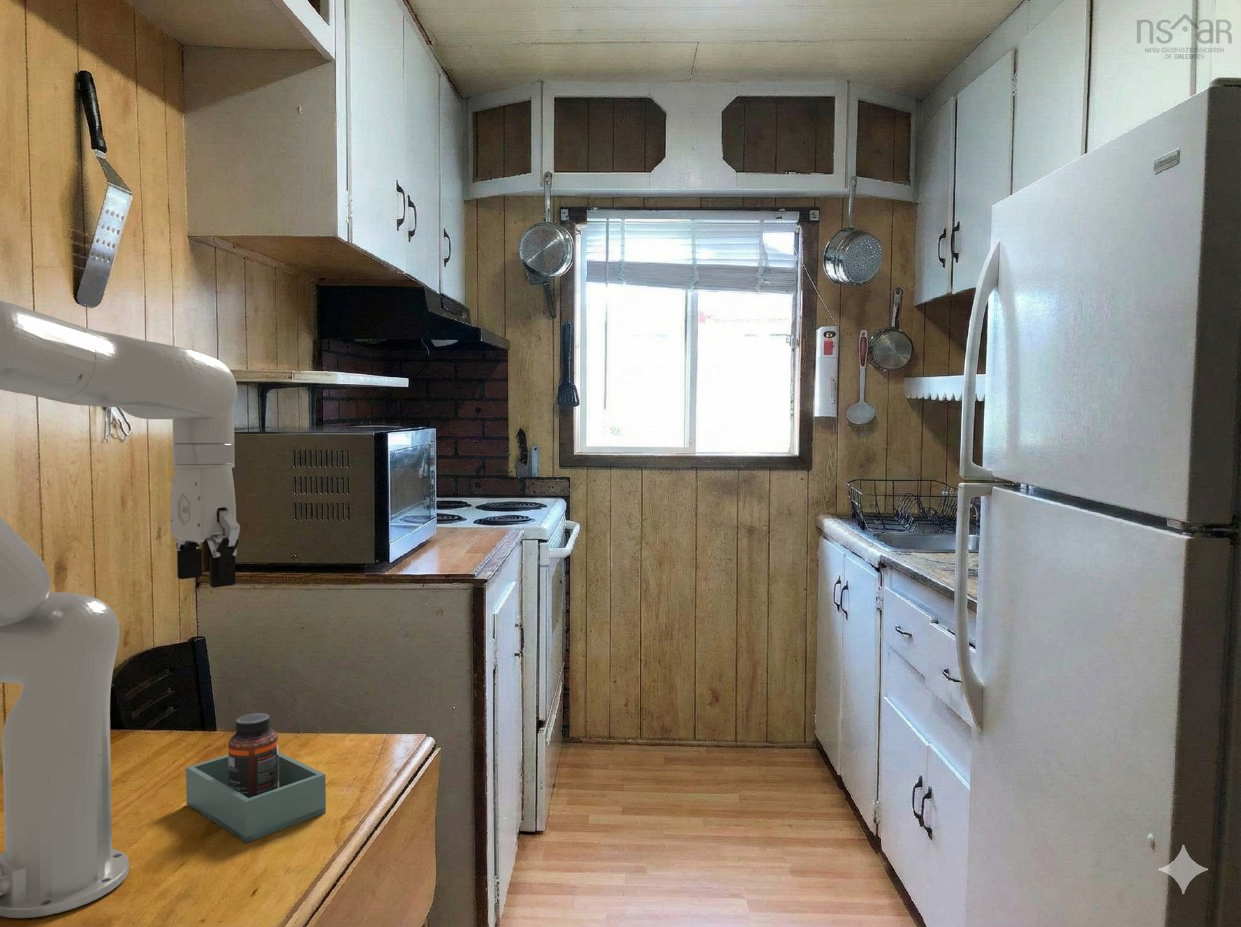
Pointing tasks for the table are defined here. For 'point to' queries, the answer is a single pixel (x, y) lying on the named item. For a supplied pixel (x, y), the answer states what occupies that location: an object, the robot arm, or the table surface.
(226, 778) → the box
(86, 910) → the table surface
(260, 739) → the supplement bottle
